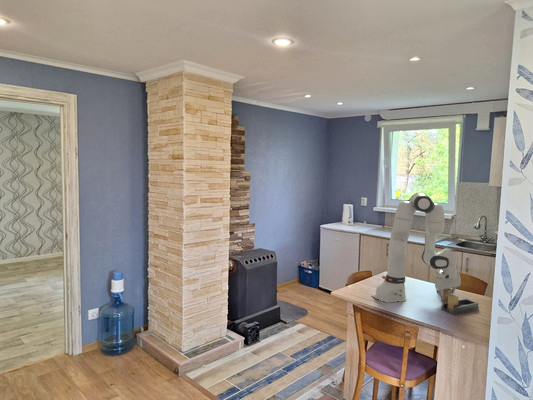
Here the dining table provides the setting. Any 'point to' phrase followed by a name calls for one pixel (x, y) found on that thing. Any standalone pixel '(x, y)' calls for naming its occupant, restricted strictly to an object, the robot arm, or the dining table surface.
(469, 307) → the grey tray with block
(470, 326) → the dining table surface
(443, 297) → the brown wooden block
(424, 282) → the dining table surface
